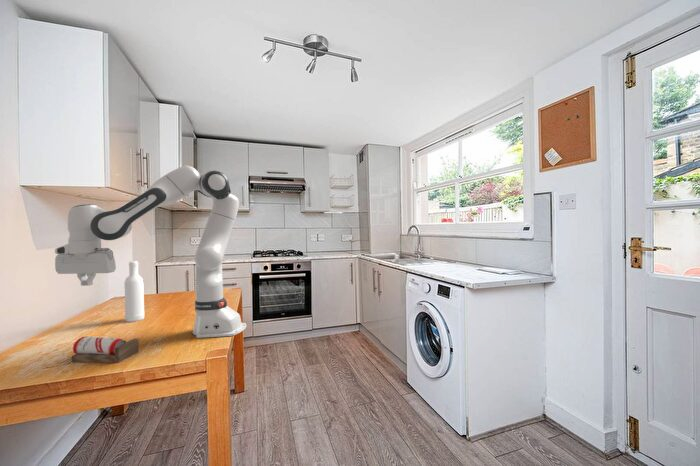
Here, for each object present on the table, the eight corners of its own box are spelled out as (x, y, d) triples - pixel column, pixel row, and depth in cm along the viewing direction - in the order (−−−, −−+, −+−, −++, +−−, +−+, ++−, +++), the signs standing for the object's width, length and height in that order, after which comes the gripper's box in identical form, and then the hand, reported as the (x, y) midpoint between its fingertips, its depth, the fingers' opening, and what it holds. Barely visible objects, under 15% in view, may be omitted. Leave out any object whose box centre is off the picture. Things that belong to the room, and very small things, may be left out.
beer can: (67, 351, 99) (109, 354, 97) (78, 333, 102) (119, 336, 101) (81, 356, 104) (121, 359, 102) (91, 339, 107) (131, 341, 106)
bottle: (148, 317, 148) (147, 260, 148) (135, 322, 140) (134, 262, 140) (134, 317, 149) (133, 260, 148) (120, 322, 141) (119, 262, 141)
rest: (138, 351, 106) (138, 338, 106) (119, 362, 98) (118, 348, 97) (94, 351, 107) (94, 338, 107) (71, 361, 99) (71, 347, 98)
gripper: (119, 247, 107) (121, 283, 107) (68, 248, 108) (69, 283, 108) (104, 248, 101) (106, 286, 101) (50, 249, 101) (51, 287, 102)
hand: (86, 285), depth 104 cm, fingers closed
